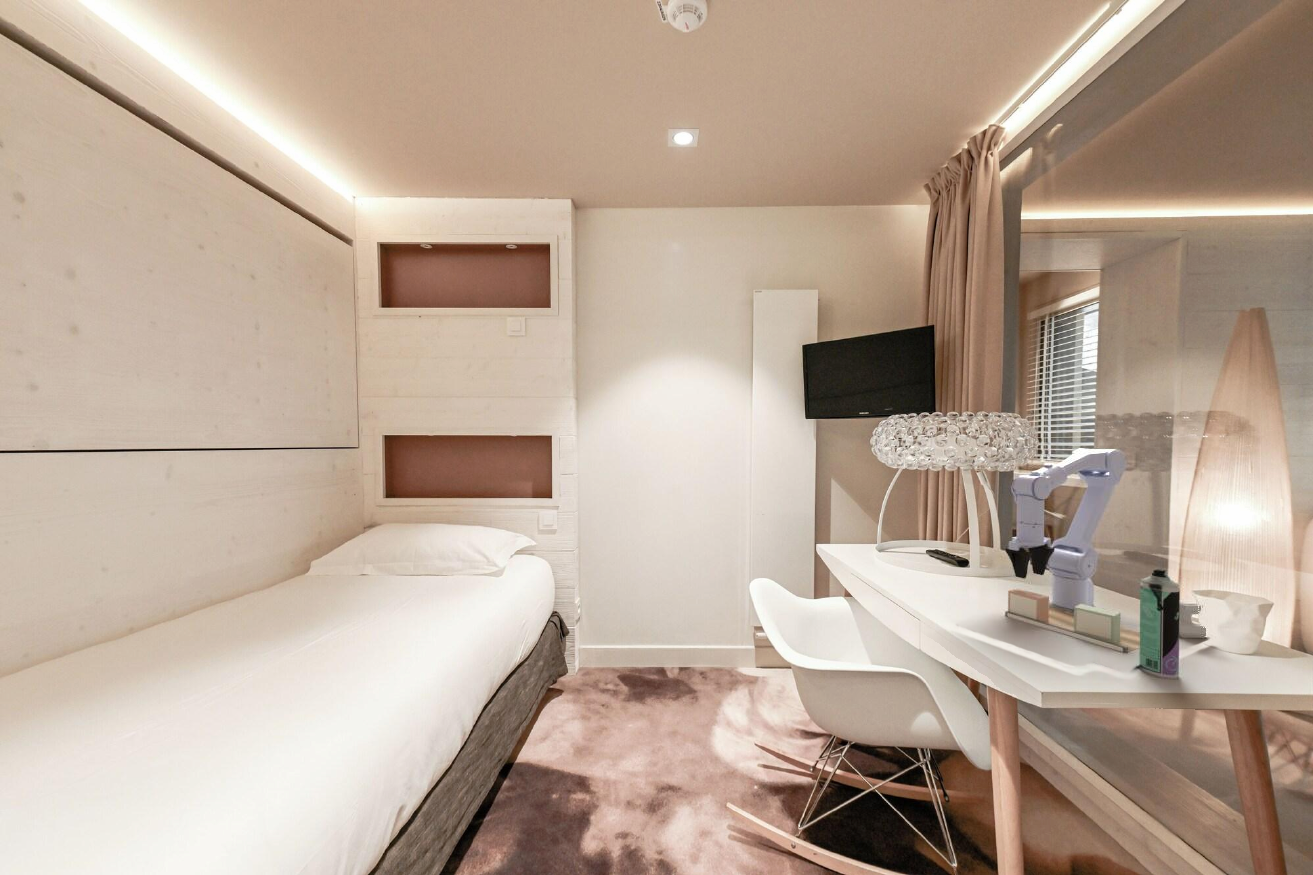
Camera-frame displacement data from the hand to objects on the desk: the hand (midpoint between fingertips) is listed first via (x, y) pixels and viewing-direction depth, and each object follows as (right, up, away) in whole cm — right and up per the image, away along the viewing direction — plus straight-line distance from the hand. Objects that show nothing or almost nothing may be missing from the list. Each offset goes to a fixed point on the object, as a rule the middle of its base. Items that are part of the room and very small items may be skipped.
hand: (1029, 575), depth 133 cm
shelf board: (+4, -10, -11) cm, 16 cm away
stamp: (+24, -10, -15) cm, 30 cm away
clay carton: (-5, -9, -6) cm, 12 cm away
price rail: (-3, -10, -15) cm, 18 cm away
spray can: (+2, -10, -32) cm, 34 cm away
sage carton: (+2, -9, -18) cm, 20 cm away
